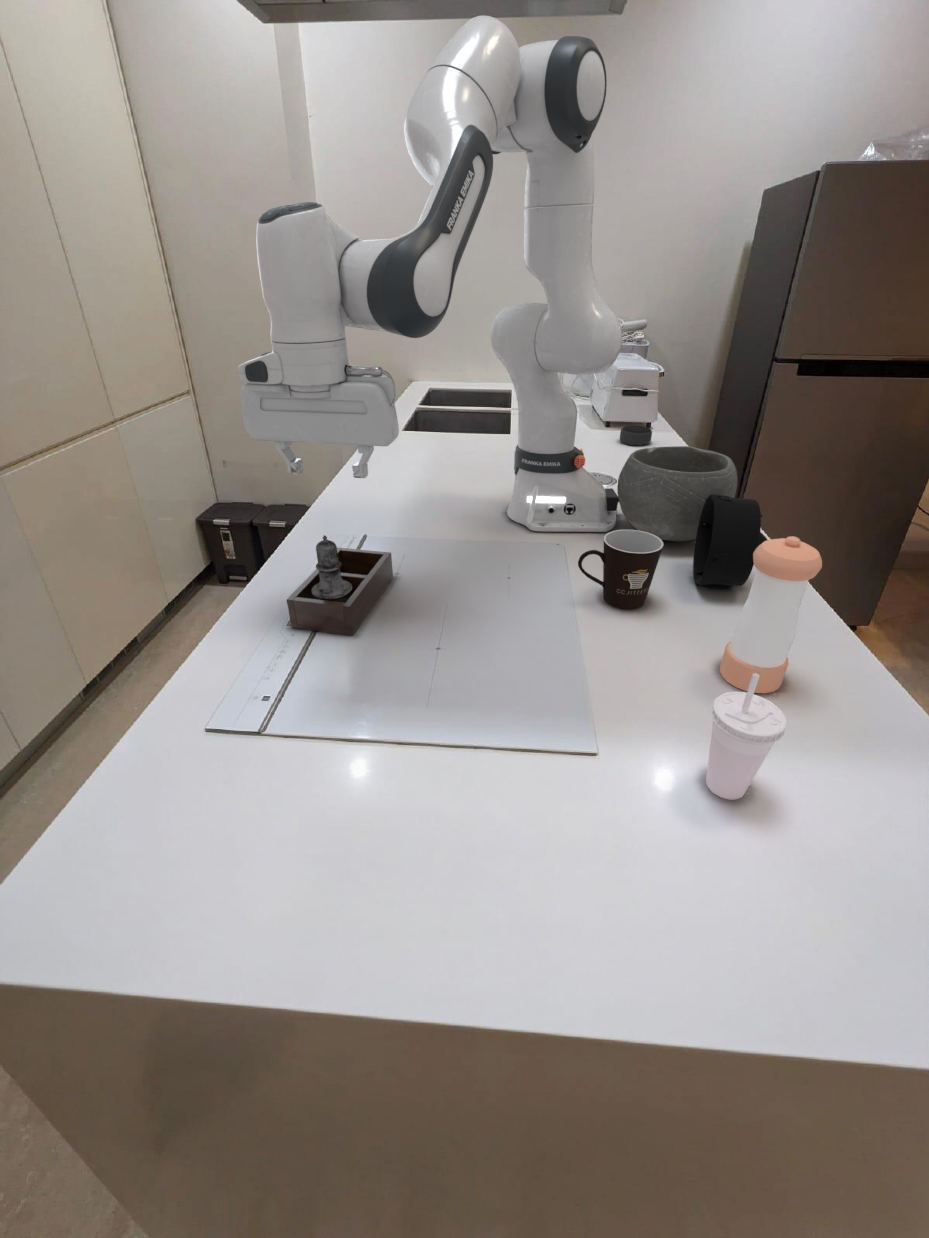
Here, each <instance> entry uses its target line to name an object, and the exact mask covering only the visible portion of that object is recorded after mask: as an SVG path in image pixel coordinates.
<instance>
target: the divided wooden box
mask: <svg viewBox="0 0 929 1238" xmlns="http://www.w3.org/2000/svg"><path fill="white" fill-rule="evenodd" d="M337 554H338V561H340V562H341V564H342V565H341V567H340V573H341V578H342V580H345V581H348V582H349V583H351V585H352V590H351V595H350V598H349V599H348V600H347V602H346V603H344V602H335V601H326V600H318V599H315V596H314V595H313V594H312V588H313V587H314V586H315V585H316V584H318V583H319V582H320V576H319V570H318V569H317V568H315V569H314V570H313V571H312V573H310V575H308V577H307V578H306V579H305V580H304V581H303V582H302V583H301V584H300V585H299V586H298V587H297V588H296V589H295V590H294V591H292V593H291V594H290V595H289V597H287V598H286V605H287V609H288V615H289V621H290V626H291V629H296V630H302V631H303V630H305V631H312V632H320V633H327V634H335V635H344V636H351V637H352V636H353V637H354V635H355V634H356V633H357V631H358V629H360V627H361V626H362V624H363V622H364V621H365V619H366V618H367V617H368V615H369V614H370V613H371V611H372V610H373V608H374V606H375V605H377V602H378V601H379V599H380V598H381V597H382V595H383V594H384V593H385V591H386V589H387V588H388V586H389V585H390V583H391V582H392V581H393V580H394V573H393V559H392V558H393V557H392V552H389V551H379V550H368V549H367V550H366V549H359V548H357V549H356V548H348V547H347V548H346V547H338V546H337Z"/></svg>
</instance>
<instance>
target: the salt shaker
mask: <svg viewBox="0 0 929 1238" xmlns="http://www.w3.org/2000/svg"><path fill="white" fill-rule="evenodd" d="M322 539H323V540H320V541H319V542H318V543H317V544H316V545H315V552H316V559H317V563H316V565H315V569H318V570H319V576H320V582H319V583H318V584H316V585H315V586H314V587H313V588H312V594H313V595H314V596H315V599H318V600H326V601H335V602H344V603H346V602H347V600H348V599H349V598H350V595H351V590H352V585H351V583H349V582H348V581H345V580H342V578H341V573H340V567H341V565H342V564H341V562H340V561H338V554H337V547H338V546H337V544H336V543H335V542H334V541H332V540H329V539H328V536H326V535H325V534H324V535H323V536H322Z"/></svg>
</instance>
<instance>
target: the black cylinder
mask: <svg viewBox="0 0 929 1238" xmlns="http://www.w3.org/2000/svg"><path fill="white" fill-rule="evenodd" d="M761 514H762V513H761V507H760V504H759V501H758V500H757V499H753V498H741V497H735V498H731V497H729V496H724V495H717V494H710V495H709V496H708V498H707V499H706V501H705V504H704V506H703V509H702V513H701V516H700V520H699V525H698V529H697V535H696V539H695V542H694V549H693V564H692V571H693V580H694V583H695V584H696V585H701V586H704V587H707V588H713V589H731V588H733V587H742V586H744V585H745V584H746V582H747V581H748V579H749V578H750V576H751V574H752V570H753V568H754V566H755V565H754V562H753V553H754V551H755V550H756V548H757V547H758V546H759V545H760V544H762V543H763V542H764V541H767V540H768V538H767V537H766V536H765V534H763V532H761V531H762V530H761V528H762V517H761ZM704 523H705V524H706V525H703V524H704Z"/></svg>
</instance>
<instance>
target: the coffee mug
mask: <svg viewBox="0 0 929 1238" xmlns="http://www.w3.org/2000/svg"><path fill="white" fill-rule="evenodd" d="M663 547H664V540H662V539H660V538H659V537H657V536H655V535H653V534H651V533H647V532H643V531H639V530H637V529H616V530H612V531H608V532H606V534H604V536H603V551H600V550H596V549H590V550H587V551H585V552H583V553H582V554H580V556H579V557H578V561H577V566H578V569H579V570H580V572H581V573H582V574H583V575H584V576H585V577H586V578H588V579H590V580H591V581H593V582H595V583H596V584H599V585H600V586H601V587H602V600H603V601H604V602H605V603H606V604H607V605H608V606H610V607H612V608H614V609H618V610H625V611H633V610H638V609H640V608H642V607H643V606H644V605H645V603H646V600H647V597H648V594H649V590H650V587H651V585H652V582H653V579H654V575H655V573H656V570H657V566H658V563H659V560H660V558H661V555H662V551H663ZM591 555H596V556H598V557H599V558H600V559H601V561H602V563H603V566H602V569H603V571H602V572H603V574H602V580H600V579H599V578H597V577H595V576H593V575H592V574H590V573H589V572H587V571H586V570H585V568H584V567H583V561H584V559H586V557H588V556H591Z"/></svg>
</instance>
